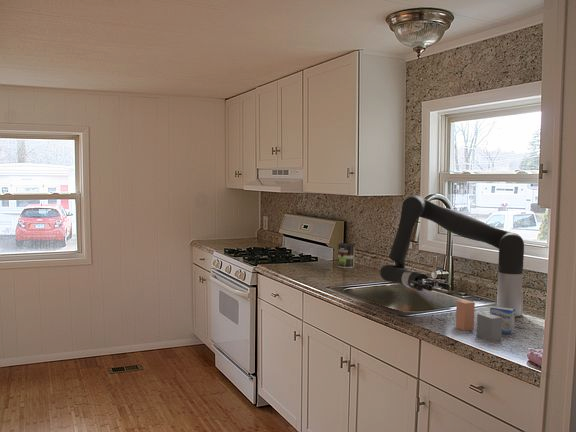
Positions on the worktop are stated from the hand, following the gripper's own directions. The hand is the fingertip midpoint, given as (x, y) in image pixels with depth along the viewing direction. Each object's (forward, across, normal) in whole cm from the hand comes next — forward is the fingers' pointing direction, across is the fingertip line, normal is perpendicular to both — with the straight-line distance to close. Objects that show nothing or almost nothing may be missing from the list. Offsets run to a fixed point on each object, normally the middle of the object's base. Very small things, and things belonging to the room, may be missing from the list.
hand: (440, 287), depth 215 cm
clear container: (-122, +29, +14) cm, 126 cm away
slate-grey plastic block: (+27, -1, +12) cm, 30 cm away
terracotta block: (+14, 0, +12) cm, 19 cm away
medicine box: (+22, +10, +12) cm, 27 cm away
